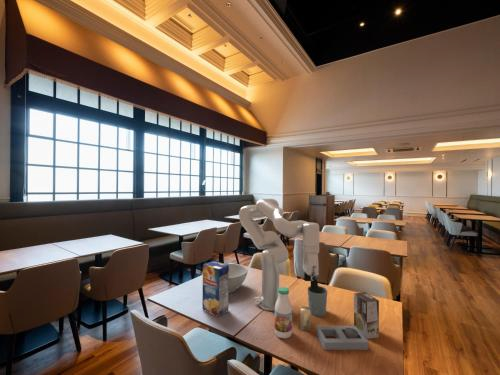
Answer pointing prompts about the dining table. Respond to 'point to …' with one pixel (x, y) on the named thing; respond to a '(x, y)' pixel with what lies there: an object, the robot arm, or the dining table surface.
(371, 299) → the coffee box
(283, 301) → the milk bottle
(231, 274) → the decorative bowl
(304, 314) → the brass cylinder
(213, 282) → the juice carton
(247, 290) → the dining table surface
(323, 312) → the grey green cup
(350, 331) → the frame
